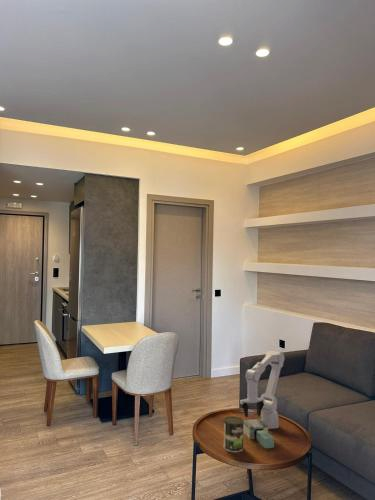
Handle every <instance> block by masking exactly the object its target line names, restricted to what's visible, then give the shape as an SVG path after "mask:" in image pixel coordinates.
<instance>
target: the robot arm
mask: <svg viewBox="0 0 375 500" xmlns="http://www.w3.org/2000/svg"><path fill="white" fill-rule="evenodd" d="M285 359H286V358H285V355H284V353H283V352H282V351H281V352H279V351H275V350H271V349H268V350H267V351H266V353H265V357H263V359H262V360H261V361H258V362H256V364H255V365H253V367H252V368H250V369H247V370H246V372H245V375H244V377H245V380H246V383H247V387H246V388H247V398H244V399H240V400H239V404H240V405H241V407H242V410H243V412H244V417H245V418H248V417H249V413H248V412H249V405H248V404H255V403H256V415H257V417H260V416H261V418H260V419H261V420H262V421H263V422H264V423H265V424H267V425H268V430H271V429H279V413H278V411H277V409H278V399H277V398H276V396H275V393H276V389H277V386H278V382H279V377H280V373H281V369H282V368H283V367H284V362H285ZM268 365H270V366H271V371H270V374H269V378H268V382H267V385H266V390H265V393H263V394H261V396H260V397H258V396H259V395H258V391H259V390H258V389H259V387H258V386H259V384H258V382H259V380H260V378H261V375H262V374H263V373H264V372H265V371H266V367H267V366H268Z"/></svg>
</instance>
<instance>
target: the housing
mask: <svg viewBox="0 0 375 500" xmlns="http://www.w3.org/2000/svg"><path fill="white" fill-rule="evenodd" d="M243 421H244V423H243V435H245V436H246V438H248V439H249V440H255V439H256V438H255V437H256V434H255V432H256V431H261V430H264V431H265V432H266V433H269V429H268V425H267V424H265V423H264V422H263V421H262V420H261V418H254V419H245V420H244V419H243Z"/></svg>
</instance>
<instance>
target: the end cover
mask: <svg viewBox="0 0 375 500" xmlns="http://www.w3.org/2000/svg"><path fill="white" fill-rule="evenodd" d="M255 437H256V438H255V439H256V441H257V442H258V443H259V445H261V446H262V448H263V449H272V448H275V438H274V436H273V435H272V434H271V433H270V432H268V433H266V432H265V431H264V430H261V431H256V434H255Z"/></svg>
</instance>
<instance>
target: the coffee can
mask: <svg viewBox="0 0 375 500" xmlns="http://www.w3.org/2000/svg"><path fill="white" fill-rule="evenodd" d="M243 420H244V419H243V418H241V417H239V416H227V417H225V418H224V419H223V449H224V450H225V451H226V452H229V453H241V452H242V451H243V450H244V433H243V423H244V421H243Z"/></svg>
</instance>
